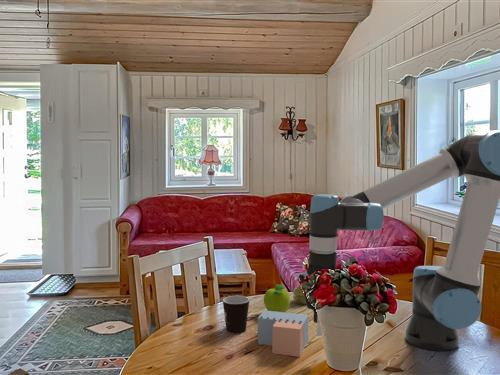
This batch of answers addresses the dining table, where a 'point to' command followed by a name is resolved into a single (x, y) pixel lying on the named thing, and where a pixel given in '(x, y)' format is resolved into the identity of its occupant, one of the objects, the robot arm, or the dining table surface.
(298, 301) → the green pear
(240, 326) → the coffee mug
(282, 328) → the block
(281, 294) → the fruit
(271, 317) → the pad
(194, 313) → the dining table surface
